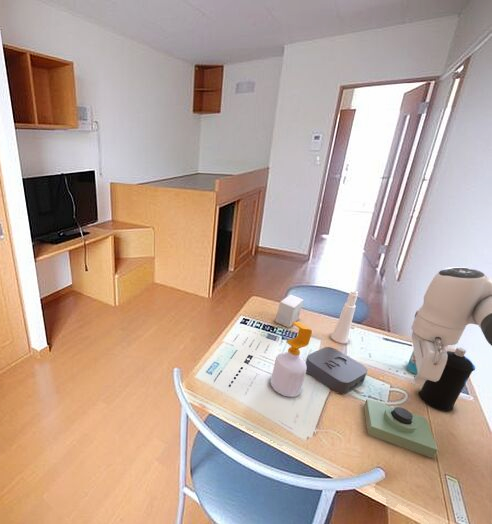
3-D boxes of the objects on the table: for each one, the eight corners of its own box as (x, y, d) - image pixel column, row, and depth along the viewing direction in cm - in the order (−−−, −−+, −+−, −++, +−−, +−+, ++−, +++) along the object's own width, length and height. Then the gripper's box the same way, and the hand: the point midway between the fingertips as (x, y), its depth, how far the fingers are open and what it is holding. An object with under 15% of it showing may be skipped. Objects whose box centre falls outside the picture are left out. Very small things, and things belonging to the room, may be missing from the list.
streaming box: (325, 356, 114) (329, 345, 112) (366, 381, 103) (371, 369, 101) (300, 368, 108) (303, 357, 106) (340, 397, 96) (345, 385, 94)
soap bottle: (264, 380, 102) (277, 319, 93) (285, 374, 105) (300, 313, 96) (284, 400, 95) (301, 335, 85) (306, 393, 98) (325, 329, 88)
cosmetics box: (289, 328, 131) (294, 307, 127) (274, 322, 135) (279, 301, 131) (299, 319, 137) (304, 299, 133) (285, 313, 142) (289, 293, 138)
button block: (422, 425, 87) (428, 413, 85) (433, 458, 78) (440, 445, 76) (363, 406, 93) (368, 393, 91) (367, 434, 84) (373, 421, 82)
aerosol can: (427, 408, 93) (454, 356, 85) (412, 388, 100) (435, 338, 92) (459, 414, 91) (490, 361, 83) (441, 393, 98) (468, 342, 90)
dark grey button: (408, 415, 85) (411, 410, 84) (411, 426, 81) (414, 421, 81) (390, 410, 86) (393, 404, 86) (393, 420, 83) (395, 415, 82)
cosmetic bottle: (348, 345, 120) (364, 296, 112) (330, 340, 123) (345, 292, 115) (347, 337, 125) (363, 290, 117) (331, 333, 128) (345, 286, 120)
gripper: (462, 356, 66) (437, 403, 72) (446, 315, 82) (427, 356, 87) (424, 345, 70) (403, 391, 75) (415, 308, 85) (399, 348, 90)
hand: (416, 372), depth 81 cm, fingers open, 8 cm apart
